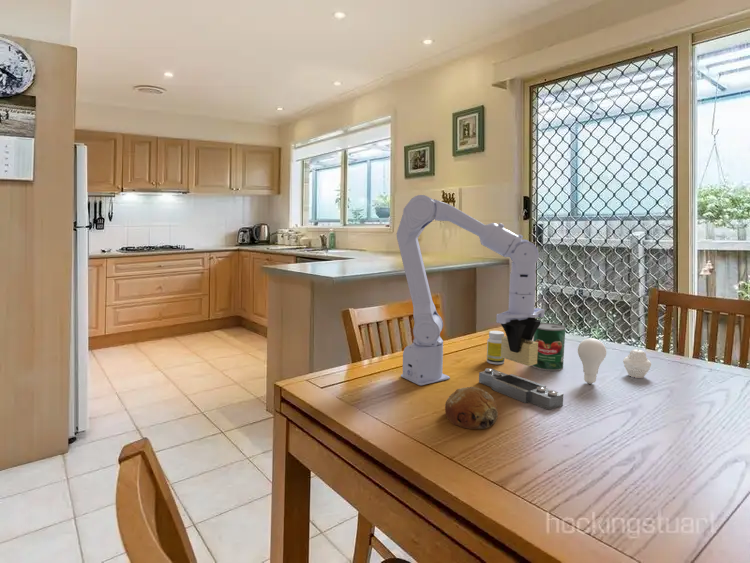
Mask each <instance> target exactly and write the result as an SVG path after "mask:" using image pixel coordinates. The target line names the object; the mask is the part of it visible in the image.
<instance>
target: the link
mask: <svg viewBox="0 0 750 563" xmlns="http://www.w3.org/2000/svg"><path fill="white" fill-rule="evenodd" d="M537 355H538V342H534V341H533V339H532V340H526V339H522V338H521V344H520V350H519V352H518V353H516V352H512V351H510V348H509V343H508V339H507V336H505V335H504V337H502V343H501V358H504V360H509V361H510V362H514V363H518V364H521V365H525V366H527V367H530V366H532V365H535V364H537Z"/></svg>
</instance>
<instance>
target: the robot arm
mask: <svg viewBox="0 0 750 563" xmlns="http://www.w3.org/2000/svg"><path fill="white" fill-rule="evenodd" d="M434 220H435V222H436V221H437V222H438V221H441V222H449V223H451V224H454V225H456V226H458V227H460V228H461V229H464V230H466V232H469V233H472V234H473V235H476V236H478V237H479V238H478V239H479V242H480V244H481V245H482V246H483V247H485V248H487V249H489V250H490V251H493V252H495V254H499V255H500V256H502V257H504V258H510V260H511V268H510V269H511V271H510V272H509V288H508V289H509V290H508V310H506V311H503V312H500V313H496V318H495V319H496V320H495V322H496V323H497V324H500V325H501V327H502V328H503V332H504V334H505V335H506V336H507V339H508V343H509V348H510V351H512V352H516V353H518V352H519V350H520V344H521V338H522V339H526V340H532V341H533V336H534V334H535V332H536V330H537V328H538V327H539V326H540V323H542V322H541V319H536V318H544V317H545V308H539V307H535V304H536V290H537V289H536V287H537V285H536V284H537V273H536V270H537V262H538V261H539V258H540V253H539V250H538V247H537V245H535V243H533V242H531V241H529V240H528V239H525V238H523V237H524V235H522V234H520V233H519V234H516V233H515V232H512V231H511V230H509V229H507V228H505V224H504V223H501V222H499V223H495V222H490V223H487V224H484V223H483V222H481V221H479V220H477V219H476V218H474V217H472V216H470V215H469V214H468V213H466V212H464V211H462V210H460V209H458V208H457V207H455V206H454V205H452V204H449V203H446V202H443V201H440V200H437V199H433V198H432V197H430V196H428V195H426V194H418V195H415V196H414V197H412V198H411V199H410V200H409V202H408V203H407V204H406V205H405V206H404V208H403V210H402V216H401V219H400V222H399V225H398V227H397V231H396V240H397V244H398V248H399V251H400V256H401V260H402V261H401V262H402V266H403V269H404V274H405V277H406V282H407V285H408V286H407V287H408V290H409V294H410V297H411V302H412V307H413V308H412V310H413V312H412V313H413V314H412V315H413V321H414V326H413V330H412V333H413V342H412V343H411V344H409V345H406V346H405V347H404V349H403V352H402V374H400V377H401V378H404V379H406V380H407V381H410V382H411V383H413V384H416V385H418V386H424V385H428V384H433V383H438V382H441V381H442V382H443V381H446V380H449V379H451V376H449V375H447V374H445V373H443V369H444V368H443V364H444V363H443V362H444V360H443V359H444V340H443V339H442V337H441V332H442V330H443V328H444V322H443V319H442V317H441V316H440V315H439V313H438V311H437V309H436V305H435V304H434V301H433V297H432V293H431V288H430V286H429V285H430V284H429V280H428V276H427V273H426V267H425V263H424V259H423V255H422V251H421V246H420V243H419V237H420V236H421V234H422V232H423V231H424V230H425V228H426V227H427V226H429V224H431V223H432V222H433V221H434Z"/></svg>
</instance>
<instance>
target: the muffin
mask: <svg viewBox="0 0 750 563" xmlns="http://www.w3.org/2000/svg"><path fill="white" fill-rule="evenodd" d="M622 361H623V362H622V363H623V364H624V365H623V367H624V368H625V370H626V373H627V375H628V376H629V377H630V376H631V378H634V377H635V378H634V379H643V378H644V377H646V375H647V374H648V373H649V371H650V368H651V366H652V362H651V361H650V359H648V356H647V353H646V352H645V351H644V350H641V349H639V348H637V349H631V350H630V351H629V354H628V355H627V356H626V357H624V358H623V360H622Z"/></svg>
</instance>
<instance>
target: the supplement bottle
mask: <svg viewBox="0 0 750 563" xmlns="http://www.w3.org/2000/svg"><path fill="white" fill-rule="evenodd" d="M504 336H505V331H500V330H490V331H489V332H488V338H487V340H486V342H487V344H486V362H487V363H488V364H491V365H503V364H505V358H501V343H502V337H504Z"/></svg>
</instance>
